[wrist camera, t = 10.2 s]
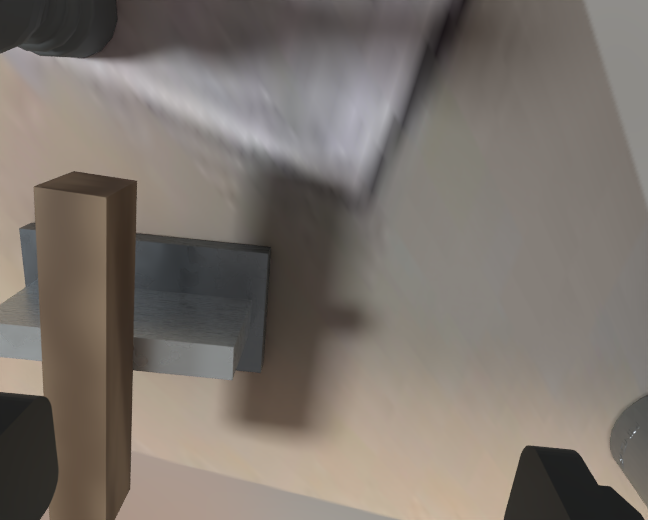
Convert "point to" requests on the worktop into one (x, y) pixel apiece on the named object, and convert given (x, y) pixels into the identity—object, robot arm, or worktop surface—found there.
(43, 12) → the candle holder
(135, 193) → the walnut beam
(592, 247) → the worktop surface
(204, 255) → the stand
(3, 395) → the robot arm
